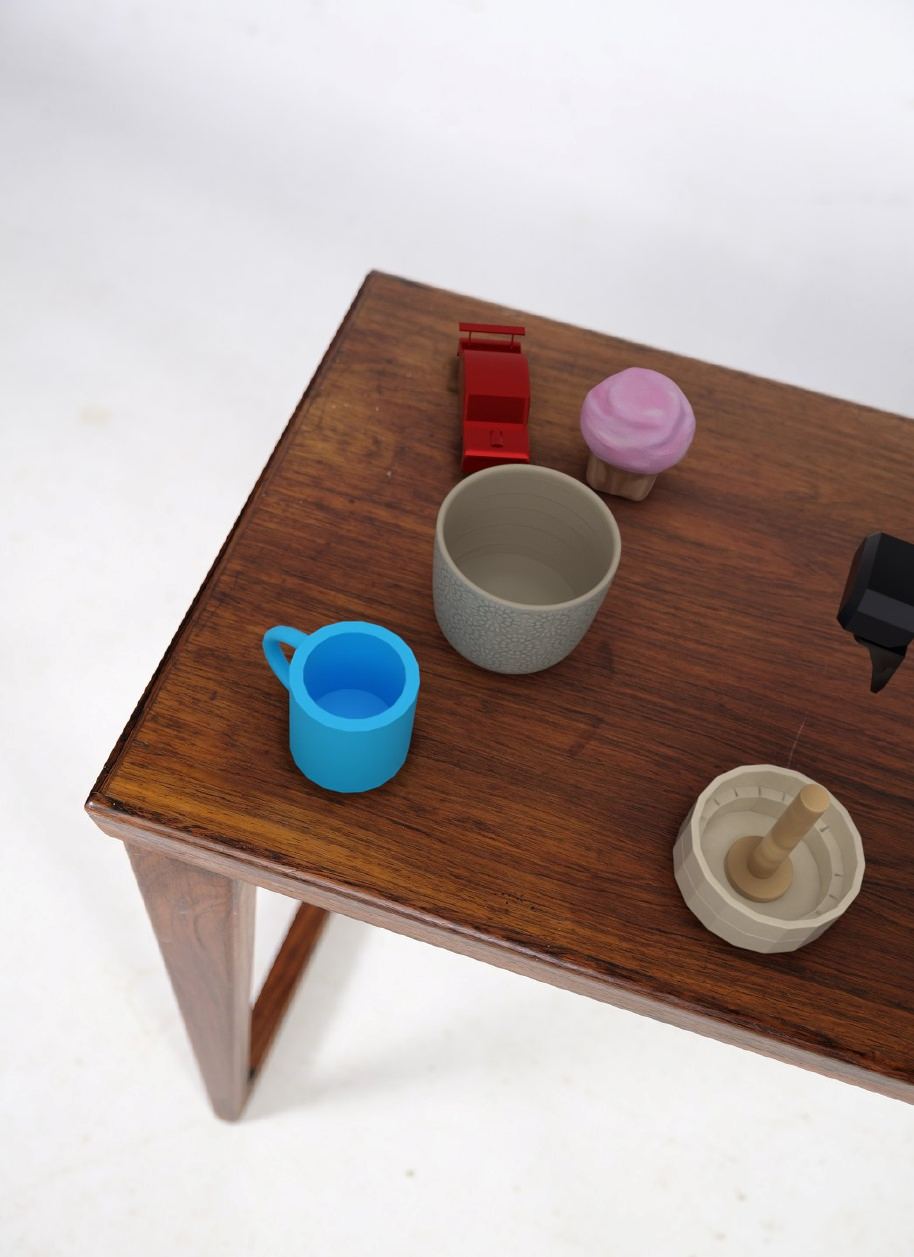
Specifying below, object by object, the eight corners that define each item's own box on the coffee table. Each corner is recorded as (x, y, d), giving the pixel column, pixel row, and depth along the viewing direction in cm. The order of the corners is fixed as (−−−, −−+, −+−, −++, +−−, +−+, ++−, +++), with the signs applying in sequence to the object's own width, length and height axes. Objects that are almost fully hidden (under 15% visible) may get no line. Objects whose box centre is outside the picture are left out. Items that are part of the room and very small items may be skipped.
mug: (434, 737, 82) (446, 673, 75) (352, 816, 78) (358, 756, 71) (307, 635, 85) (309, 566, 79) (223, 706, 81) (217, 639, 75)
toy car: (453, 357, 103) (460, 313, 99) (517, 362, 104) (526, 318, 100) (458, 480, 95) (465, 437, 91) (526, 483, 96) (537, 441, 92)
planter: (621, 629, 89) (658, 537, 80) (514, 730, 83) (541, 643, 74) (497, 533, 93) (519, 435, 84) (386, 623, 87) (397, 528, 78)
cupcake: (556, 503, 95) (581, 414, 87) (575, 428, 100) (600, 337, 92) (665, 531, 95) (700, 444, 87) (678, 454, 100) (712, 365, 92)
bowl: (849, 837, 81) (879, 804, 77) (814, 985, 75) (844, 958, 71) (697, 773, 83) (718, 738, 79) (649, 913, 76) (670, 883, 72)
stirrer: (796, 856, 79) (859, 781, 70) (780, 913, 77) (844, 844, 68) (733, 829, 80) (788, 752, 71) (715, 886, 77) (770, 813, 69)
